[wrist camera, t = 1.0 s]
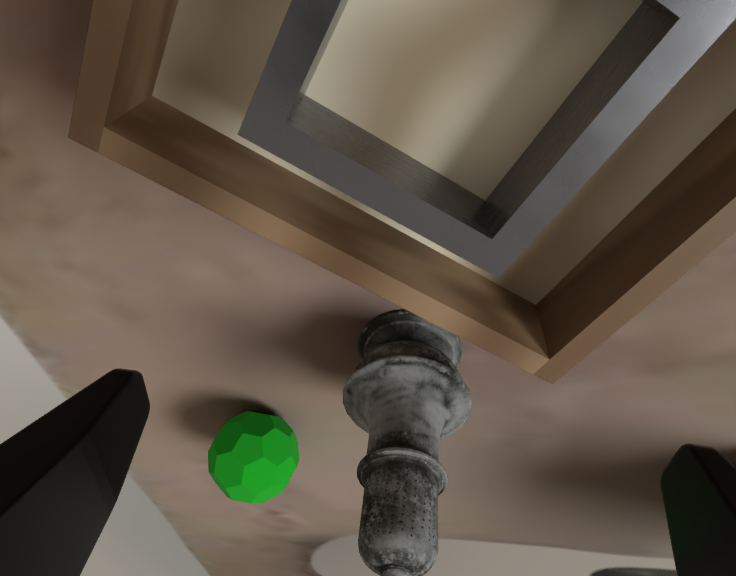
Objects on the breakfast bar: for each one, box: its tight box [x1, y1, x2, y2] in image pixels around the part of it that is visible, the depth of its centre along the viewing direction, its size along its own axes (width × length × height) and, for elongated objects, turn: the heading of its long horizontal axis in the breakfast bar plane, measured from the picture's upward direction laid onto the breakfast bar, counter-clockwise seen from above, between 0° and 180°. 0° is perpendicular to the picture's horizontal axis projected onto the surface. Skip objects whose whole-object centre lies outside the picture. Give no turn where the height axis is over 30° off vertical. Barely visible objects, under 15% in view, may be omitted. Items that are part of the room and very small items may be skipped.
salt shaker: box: [343, 309, 472, 576], centre depth 21 cm, size 6×6×12 cm
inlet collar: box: [237, 0, 736, 278], centre depth 16 cm, size 10×10×3 cm
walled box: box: [68, 0, 736, 384], centre depth 16 cm, size 20×16×4 cm
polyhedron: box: [208, 411, 299, 503], centre depth 29 cm, size 5×5×5 cm
